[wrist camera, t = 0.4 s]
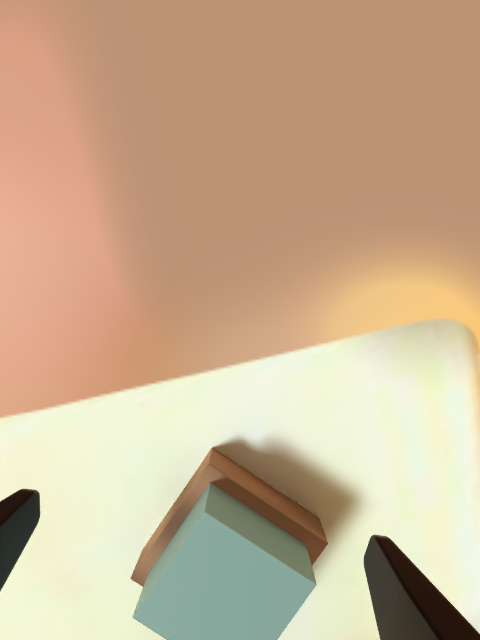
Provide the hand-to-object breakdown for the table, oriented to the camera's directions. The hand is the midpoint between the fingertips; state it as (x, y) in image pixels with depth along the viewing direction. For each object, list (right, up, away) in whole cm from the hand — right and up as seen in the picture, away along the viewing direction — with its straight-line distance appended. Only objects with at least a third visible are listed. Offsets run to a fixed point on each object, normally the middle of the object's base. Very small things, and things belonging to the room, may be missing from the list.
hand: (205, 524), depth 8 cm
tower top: (0, -11, +13) cm, 17 cm away
